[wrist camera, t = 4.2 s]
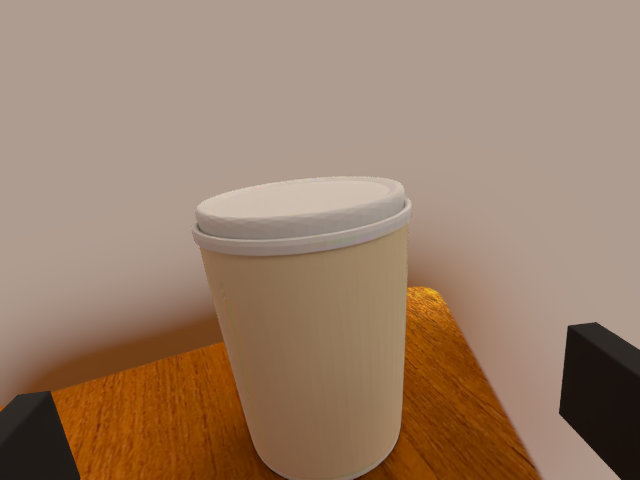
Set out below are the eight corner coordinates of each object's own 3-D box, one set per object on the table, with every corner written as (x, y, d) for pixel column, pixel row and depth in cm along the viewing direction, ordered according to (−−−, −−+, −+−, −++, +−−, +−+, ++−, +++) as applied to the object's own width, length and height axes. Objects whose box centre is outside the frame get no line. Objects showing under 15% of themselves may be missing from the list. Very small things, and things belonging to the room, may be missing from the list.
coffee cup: (368, 351, 26) (355, 169, 22) (459, 458, 17) (461, 190, 14) (226, 391, 23) (187, 193, 20) (250, 542, 15) (188, 237, 11)
